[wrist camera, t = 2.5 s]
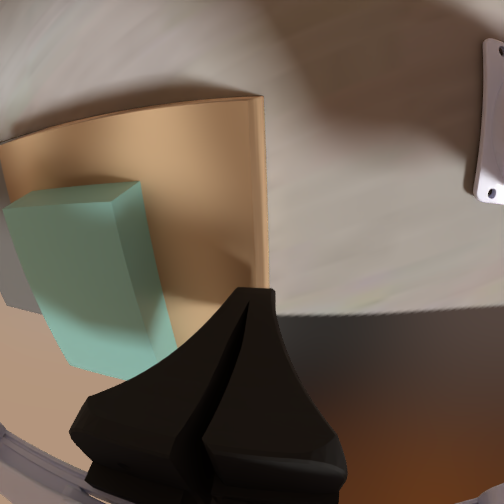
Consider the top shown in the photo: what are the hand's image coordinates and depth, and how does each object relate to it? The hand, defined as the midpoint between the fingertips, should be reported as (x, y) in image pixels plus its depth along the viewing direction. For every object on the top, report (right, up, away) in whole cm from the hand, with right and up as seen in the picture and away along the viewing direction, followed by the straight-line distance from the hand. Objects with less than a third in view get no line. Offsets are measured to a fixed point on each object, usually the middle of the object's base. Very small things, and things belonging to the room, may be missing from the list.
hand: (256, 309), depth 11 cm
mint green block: (-7, +1, +2) cm, 7 cm away
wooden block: (-5, +3, +5) cm, 8 cm away
